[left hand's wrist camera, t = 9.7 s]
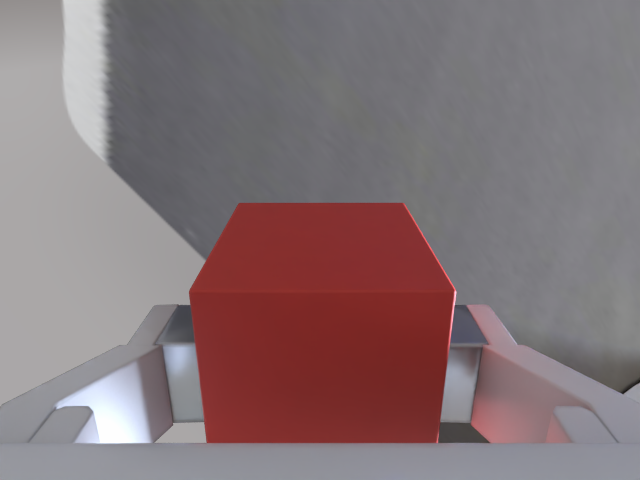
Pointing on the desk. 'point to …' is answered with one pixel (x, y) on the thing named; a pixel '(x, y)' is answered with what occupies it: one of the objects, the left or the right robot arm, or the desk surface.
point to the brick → (322, 326)
